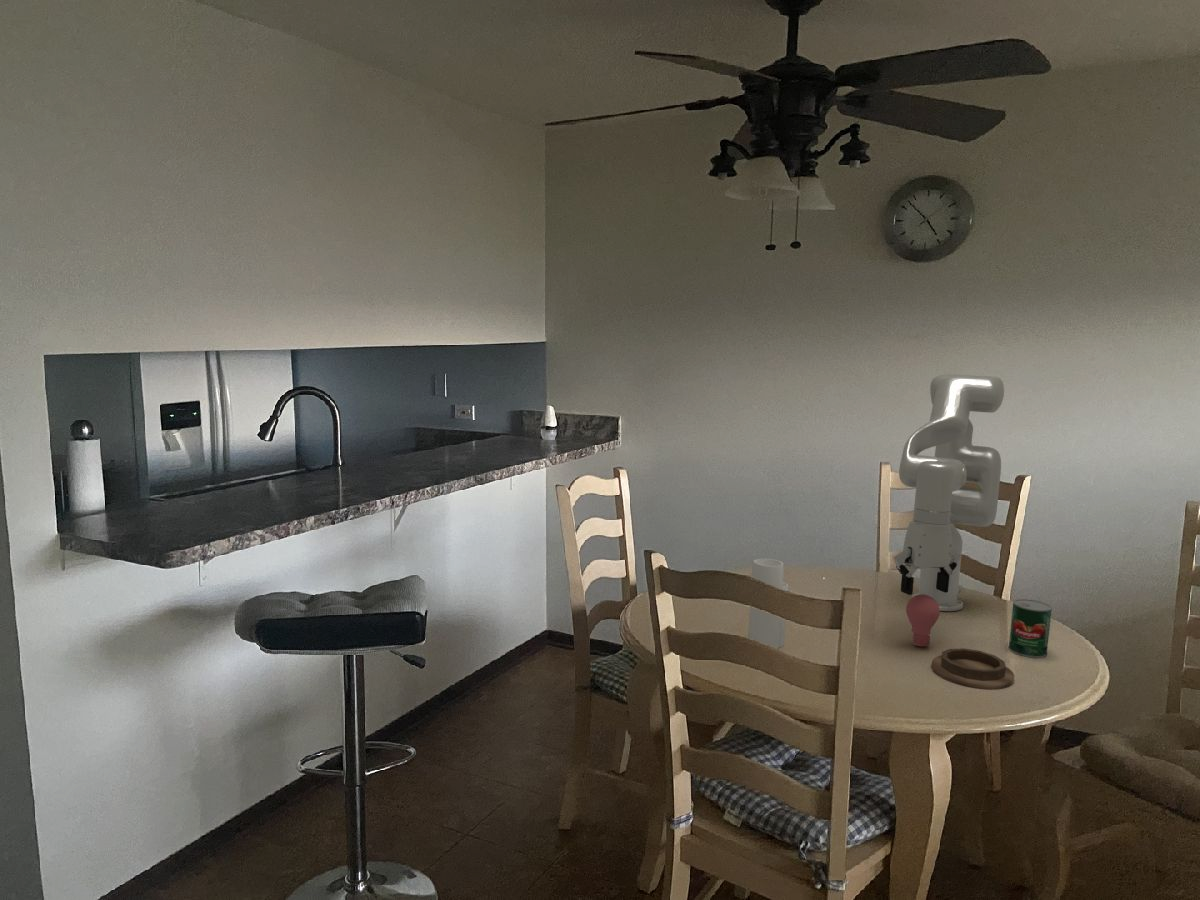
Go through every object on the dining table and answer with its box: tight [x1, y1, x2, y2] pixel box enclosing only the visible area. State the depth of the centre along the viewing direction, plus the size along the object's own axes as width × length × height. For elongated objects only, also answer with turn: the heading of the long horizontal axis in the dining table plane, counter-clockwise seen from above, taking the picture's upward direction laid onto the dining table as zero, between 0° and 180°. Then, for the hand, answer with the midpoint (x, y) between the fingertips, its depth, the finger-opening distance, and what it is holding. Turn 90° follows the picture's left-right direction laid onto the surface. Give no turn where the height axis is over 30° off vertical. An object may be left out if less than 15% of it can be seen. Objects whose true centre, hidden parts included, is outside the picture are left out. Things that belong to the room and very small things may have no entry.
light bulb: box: [905, 594, 941, 647], centre depth 197 cm, size 7×7×12 cm
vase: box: [747, 558, 789, 650], centre depth 193 cm, size 11×7×20 cm, turn 155°
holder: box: [930, 648, 1015, 690], centre depth 183 cm, size 16×16×3 cm
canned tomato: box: [1008, 598, 1053, 659], centre depth 196 cm, size 8×8×11 cm
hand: (924, 592), depth 196 cm, fingers open, 9 cm apart
